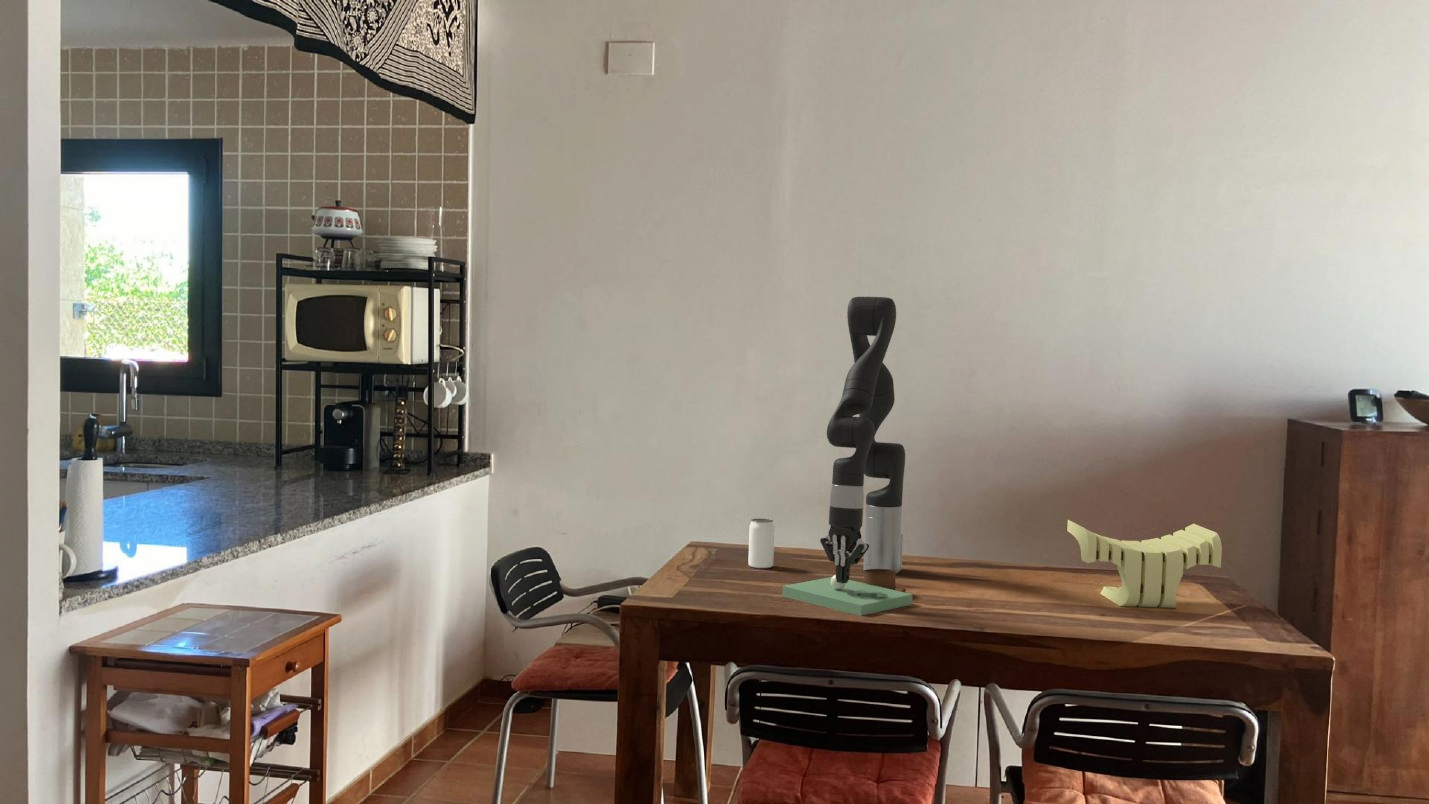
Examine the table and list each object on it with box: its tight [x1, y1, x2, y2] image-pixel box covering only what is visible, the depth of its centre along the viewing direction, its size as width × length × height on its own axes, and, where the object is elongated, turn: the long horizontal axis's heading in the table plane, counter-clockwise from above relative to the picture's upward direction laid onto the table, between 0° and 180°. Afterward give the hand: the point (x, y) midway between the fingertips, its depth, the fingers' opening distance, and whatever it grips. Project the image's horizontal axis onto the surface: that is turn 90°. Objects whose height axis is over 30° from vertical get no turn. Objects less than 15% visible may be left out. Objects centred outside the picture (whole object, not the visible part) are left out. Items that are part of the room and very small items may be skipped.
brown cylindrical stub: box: [863, 569, 906, 593], centre depth 261 cm, size 12×12×6 cm
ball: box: [831, 574, 846, 590], centre depth 253 cm, size 4×4×4 cm
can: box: [747, 518, 775, 569], centre depth 289 cm, size 6×6×12 cm
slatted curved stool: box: [1066, 519, 1223, 609], centre depth 260 cm, size 30×16×18 cm, turn 89°
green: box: [781, 576, 914, 617], centre depth 252 cm, size 23×18×2 cm
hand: (842, 582), depth 250 cm, fingers closed
